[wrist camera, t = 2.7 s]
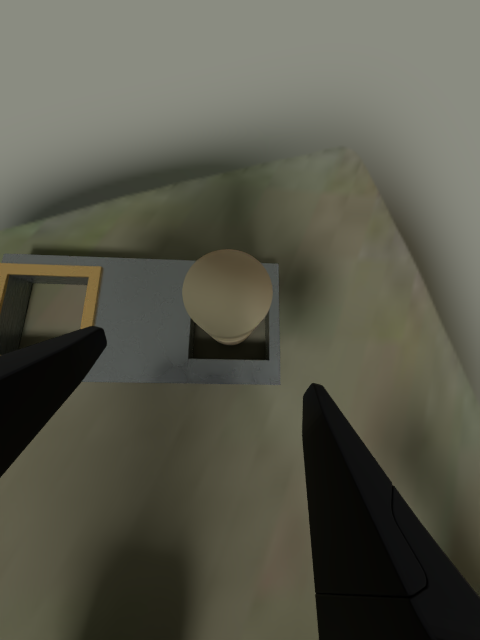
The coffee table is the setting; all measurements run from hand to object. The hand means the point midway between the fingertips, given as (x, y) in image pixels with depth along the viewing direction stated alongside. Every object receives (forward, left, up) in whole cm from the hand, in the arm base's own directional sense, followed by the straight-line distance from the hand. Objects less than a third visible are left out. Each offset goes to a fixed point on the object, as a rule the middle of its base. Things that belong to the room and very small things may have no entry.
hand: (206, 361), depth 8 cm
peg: (+3, 0, -11) cm, 11 cm away
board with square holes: (0, +8, -11) cm, 13 cm away
